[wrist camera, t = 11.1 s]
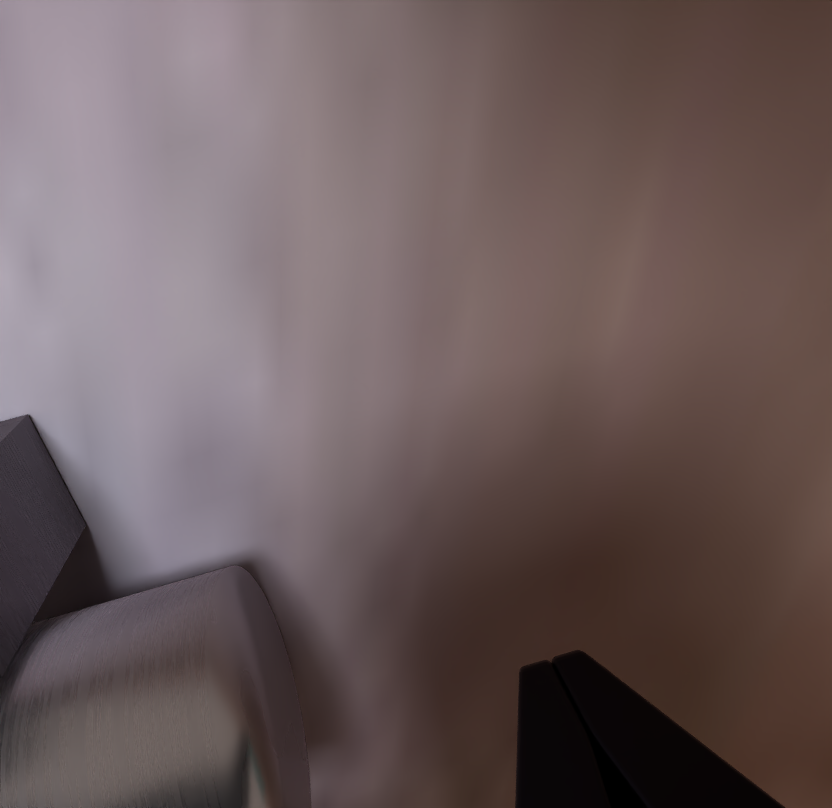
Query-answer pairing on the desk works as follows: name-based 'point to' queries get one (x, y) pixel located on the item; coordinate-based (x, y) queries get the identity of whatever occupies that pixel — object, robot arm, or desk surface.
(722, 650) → the desk surface
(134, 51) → the desk surface
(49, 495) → the collar stand
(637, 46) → the desk surface
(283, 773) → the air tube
